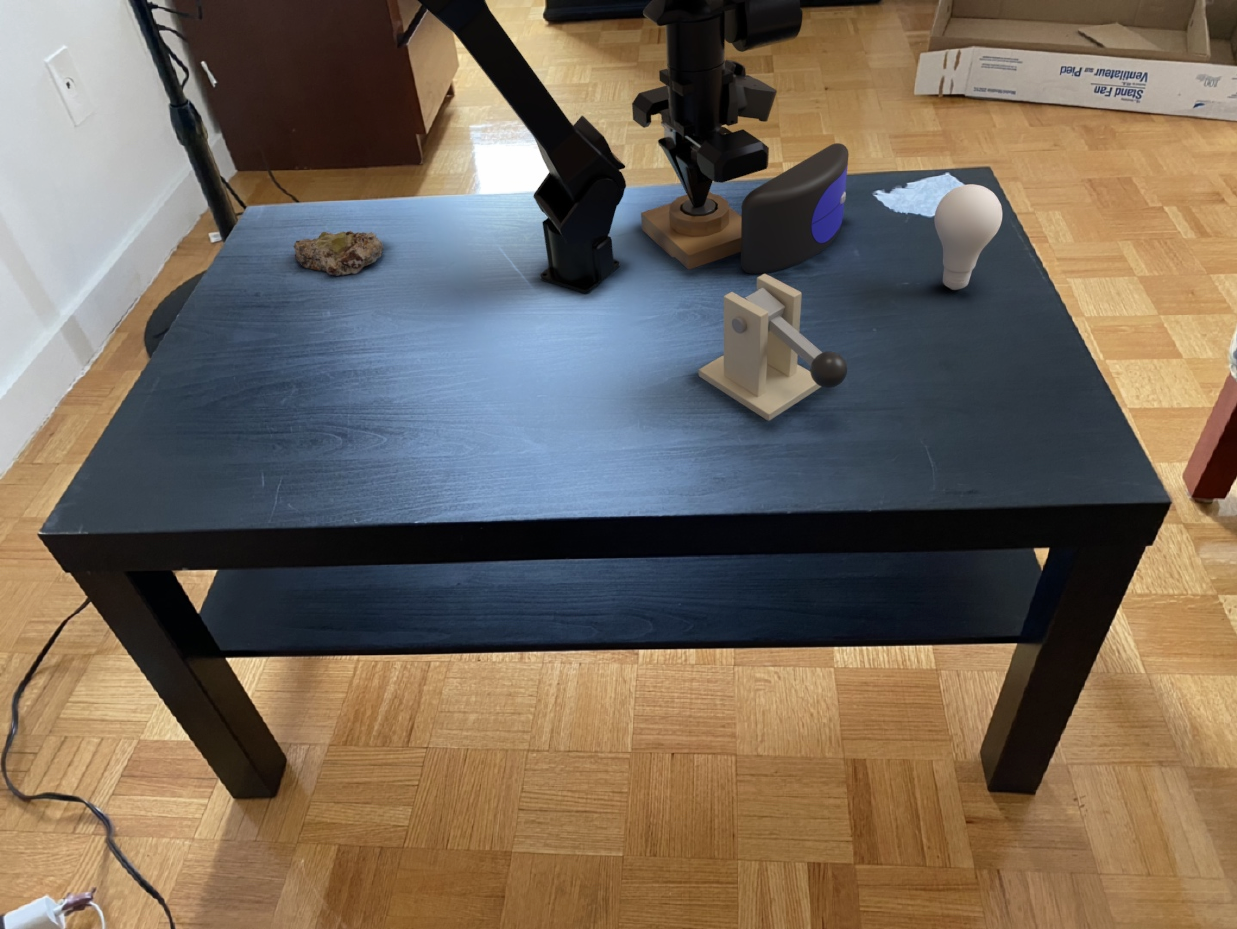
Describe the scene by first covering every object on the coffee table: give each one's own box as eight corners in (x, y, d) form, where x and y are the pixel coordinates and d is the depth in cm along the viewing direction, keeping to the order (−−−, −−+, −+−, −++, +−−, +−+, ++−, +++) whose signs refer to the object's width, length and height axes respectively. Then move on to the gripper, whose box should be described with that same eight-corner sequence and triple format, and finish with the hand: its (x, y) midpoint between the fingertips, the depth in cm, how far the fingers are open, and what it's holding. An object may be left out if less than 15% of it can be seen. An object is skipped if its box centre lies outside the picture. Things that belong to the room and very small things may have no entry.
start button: (677, 217, 106) (676, 203, 105) (705, 208, 107) (704, 194, 106) (693, 231, 104) (692, 216, 103) (721, 222, 105) (721, 207, 104)
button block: (641, 229, 110) (639, 198, 107) (709, 208, 112) (709, 176, 110) (688, 273, 102) (687, 240, 100) (760, 248, 105) (761, 216, 102)
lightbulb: (987, 275, 98) (1010, 175, 90) (983, 308, 94) (1006, 207, 86) (926, 269, 99) (942, 170, 92) (919, 301, 95) (936, 200, 88)
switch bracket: (822, 389, 87) (830, 298, 80) (768, 424, 84) (772, 333, 77) (751, 347, 92) (753, 259, 85) (698, 379, 89) (696, 290, 82)
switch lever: (848, 384, 80) (859, 361, 78) (824, 400, 79) (834, 377, 77) (759, 307, 85) (766, 282, 82) (735, 321, 83) (741, 296, 81)
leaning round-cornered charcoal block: (770, 290, 99) (773, 207, 92) (736, 275, 101) (737, 193, 95) (864, 228, 106) (873, 147, 100) (830, 215, 109) (837, 136, 102)
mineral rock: (391, 219, 111) (367, 237, 104) (398, 256, 113) (374, 276, 106) (305, 223, 113) (275, 241, 106) (313, 260, 115) (284, 279, 108)
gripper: (819, 71, 90) (809, 220, 100) (717, 17, 102) (718, 154, 113) (716, 100, 87) (717, 251, 97) (625, 41, 99) (634, 180, 110)
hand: (698, 205), depth 104 cm, fingers closed, pressing on start button
